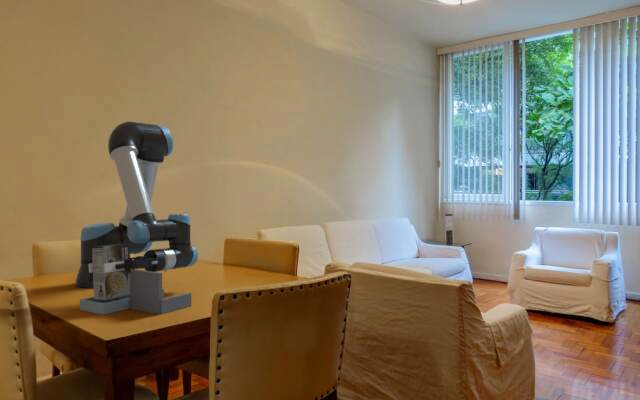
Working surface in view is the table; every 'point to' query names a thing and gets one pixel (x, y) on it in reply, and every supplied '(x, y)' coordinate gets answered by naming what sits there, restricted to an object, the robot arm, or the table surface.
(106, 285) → the coffee box
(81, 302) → the tray
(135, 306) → the bracket
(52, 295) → the table surface
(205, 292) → the table surface
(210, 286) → the table surface
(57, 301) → the table surface
